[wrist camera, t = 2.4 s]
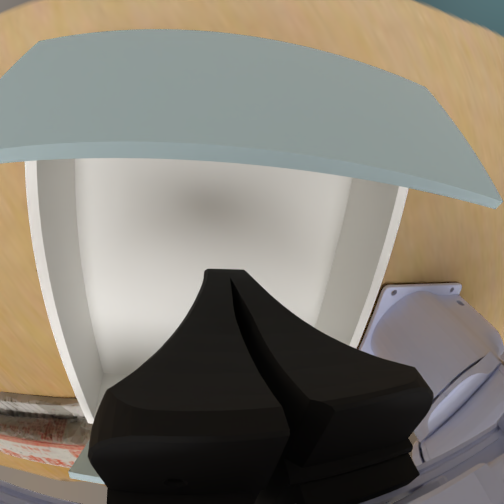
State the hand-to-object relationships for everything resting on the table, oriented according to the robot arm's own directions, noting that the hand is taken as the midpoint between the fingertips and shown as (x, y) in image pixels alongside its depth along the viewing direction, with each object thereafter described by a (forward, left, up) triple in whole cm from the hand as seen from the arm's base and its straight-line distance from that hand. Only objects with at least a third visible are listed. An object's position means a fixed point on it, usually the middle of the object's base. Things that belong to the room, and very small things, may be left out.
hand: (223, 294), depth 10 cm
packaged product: (+17, +23, -8) cm, 30 cm away
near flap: (0, -7, +1) cm, 7 cm away
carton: (0, +2, -7) cm, 8 cm away
